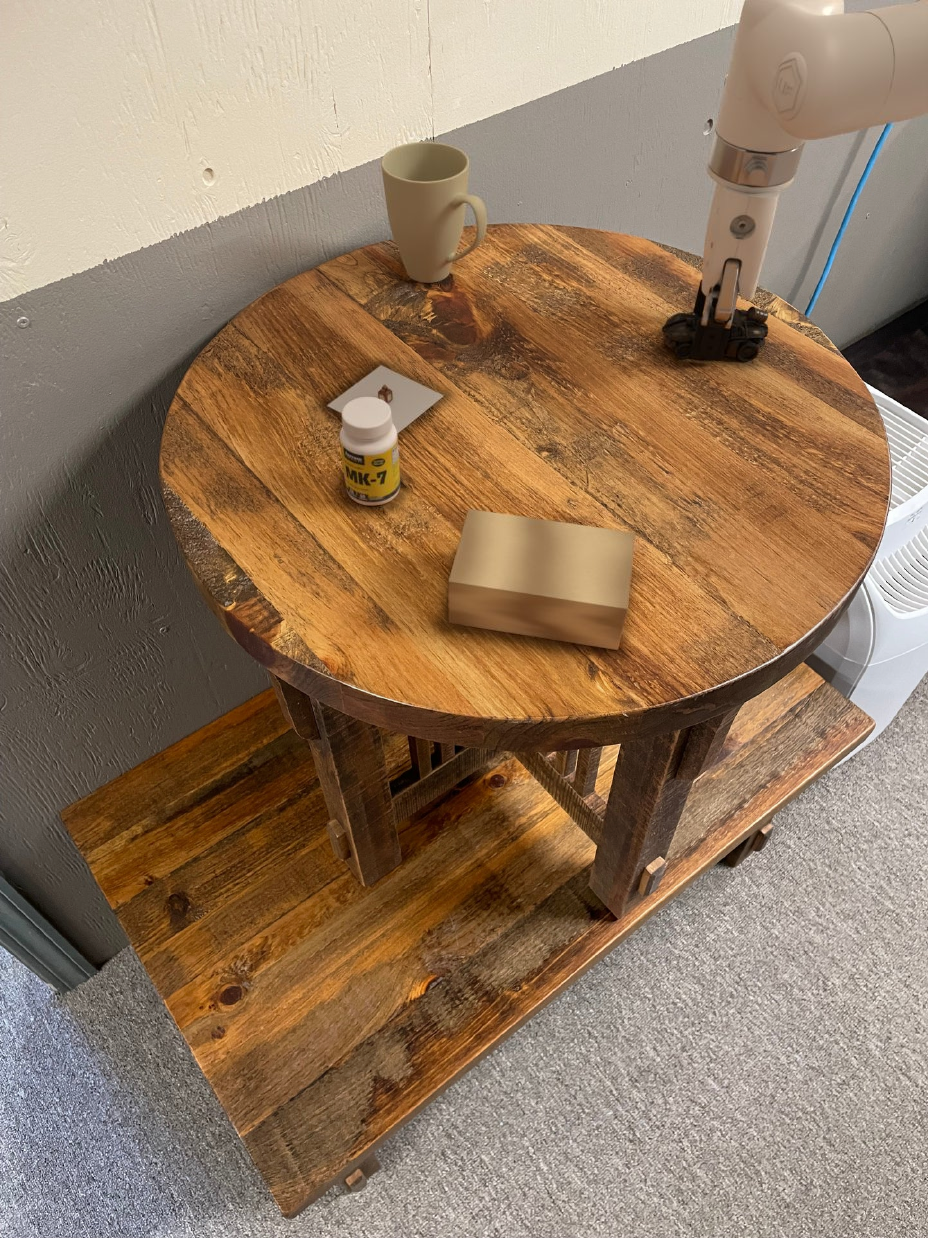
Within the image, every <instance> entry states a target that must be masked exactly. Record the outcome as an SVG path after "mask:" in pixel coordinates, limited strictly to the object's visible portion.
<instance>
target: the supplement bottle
mask: <svg viewBox="0 0 928 1238" xmlns="http://www.w3.org/2000/svg"><path fill="white" fill-rule="evenodd" d="M341 423H342V424H341V425H342V427H341V429H340V431H339V445H340V452H341V461H342V469H343V475H344V476H343V477H344V485H345V490H346V492H347V495H348V496H349V498H350V499H352V501H354V502H356V503H357V504H360V505H363V506H381V505H385V504H387V503H389V502H391V501H392V500H394V499H395V498H396V497H397V495H398V494H399V493H400V490H401V472H400V470H401V469H400V455H399V454H400V453H399V435H398V434H397V430H396V428H395V426H394V425H393V423H392V415H391V409H390V407H389V405H388V404H387V403H386V402H385V401H383V400H381V399H378V398H375V397H360V398H357V399H354V400H352V401H350V402H348V403H347V404H346V405H345V406H344V408H343V410H342V413H341Z"/></svg>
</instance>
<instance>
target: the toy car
mask: <svg viewBox="0 0 928 1238" xmlns="http://www.w3.org/2000/svg"><path fill="white" fill-rule="evenodd" d="M711 308H713V307H712V305H711ZM698 319H702V316H698V315H696V314H695V313H693V311H690V312H688V313H687V312H677V313H675V314H673V315H671V316H670V317H668V318H667V319H666V320H665V323H664V325H663V326H662V327H661V331H662V334H663V338H664V342H665V345H666V347H669V348H671V349H674V353H675V355H676V357H677V358H678V359H682V360H684V359H688V358H689V357H691V355H690V353H691V347H692V343H693V339H694V335H695V331H696V327H697V323H698ZM768 319H769V312H768V310H764V309H762V308H761V309H760V308H758V307H755V306H753V305H752V306H750V307H749V308H748V310H746V309H739V308H735V311H734V315H733V320H732V328H731V332H730V335H729V339H728V342H727V346H726V349H725V353H724V356H726V357H730V358H738V360H740V361H741V362H743V363H744V362H745V363H747V362H752V361H753V360H755V359H756V358H757V356H758V355H759V352H760V349H761V350H763V348H762V347H763V346H765V344H766V338H767V337H768V334H769V326H768V324H767V323H766V322H767V321H768ZM759 348H760V349H759Z"/></svg>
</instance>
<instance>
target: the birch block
mask: <svg viewBox="0 0 928 1238" xmlns="http://www.w3.org/2000/svg"><path fill="white" fill-rule="evenodd" d="M635 543H636V532H631V531H626V530H618V529H611V528H604V527H597V526H590V525H583V524H577V523H569V522H563V521H556V520H549V519H542V518H535V517H529V516H522V515H516V514H515V515H514V514H507V513H501V512H493V511H487V510H479V509H473V508H468V509H467V512H466V516H465V519H464V523H463V527H462V531H461V534H460V537H459V541H458V544H457V548H456V552H455V555H454V559H453V563H452V567H451V570H450V573H449V577H448V581H447V583H448V585H447V586H448V587H447V589H448V591H447V592H448V623H449V624H453V625H458V626H464V627H465V626H466V627H471V628H478V629H484V630H490V631H495V632H496V631H497V632H502V633H509V634H515V635H522V636H528V637H535V638H541V639H546V640H552V641H559V642H564V643H565V642H566V643H572V644H577V645H582V646H583V645H584V646H590V647H596V648H603V649H609V650H614V651H618V650H619V646H620V642H621V639H622V635H623V630H624V626H625V622H626V617H627V614H628V611H629V600H630V591H631V584H632V583H631V581H632V573H633V563H634V555H635V553H634V552H635Z"/></svg>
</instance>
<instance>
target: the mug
mask: <svg viewBox="0 0 928 1238" xmlns="http://www.w3.org/2000/svg"><path fill="white" fill-rule="evenodd" d="M380 166H381V174H382V182H383V190H384V197H385V198H384V199H385V205H386V212H387V217H388V223H389V227H390V230H391V234H392V237H393V241H394V243H395V245H396V248H397V250H398V253H399V256H400V258H401V261H402V264H403V266H404V269H405V271H406V274H407V276H408V277H409V278H410V279H412V280H413V281H415V282H418V283H425V284H432V283H437V282H441V281H443V280H445V279H447V277H448V276H450V273H451V270H452V266H453V264H454V262H457V261H459V260H461V259H463V258H465V257H466V256H468V255H469V254H471V253H472V252H473V251H475V250H476V249H477V248H478V247H479V246H480V245H481V243H482V242H483V241H484V239H485V236H486V234H487V233H486V232H487V225H488V216H487V210H486V206H485V204H484V202H483V200H482V199H481V198H480V197H479V196H477V195H475V194H469V193H468V189H469V176H470V158H469V156H468V155H467V154H466V152H464V151H463V150H462V149H460V148H458V147H456V146H454V145H450V144H446V143H443V142H433V141H417V142H409V143H405V144H402V145H398V146H396V147H393V148H392V149H389V151H387V152H386V153H385V154H383V156H382V158H381V161H380ZM467 204H468V205H469V206H470V207H471V209H472V211H473V215H474V218H475V223H476V232H475V233H476V234H475V238H474V240H473V242H472V244H471V245H469V246H468V247H467V248H466V249H464V250H463V251H461V252H460V253H458V254H457V251H458V248H459V245H460V242H461V239H462V235H463V231H464V227H465V221H466V212H467Z"/></svg>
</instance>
